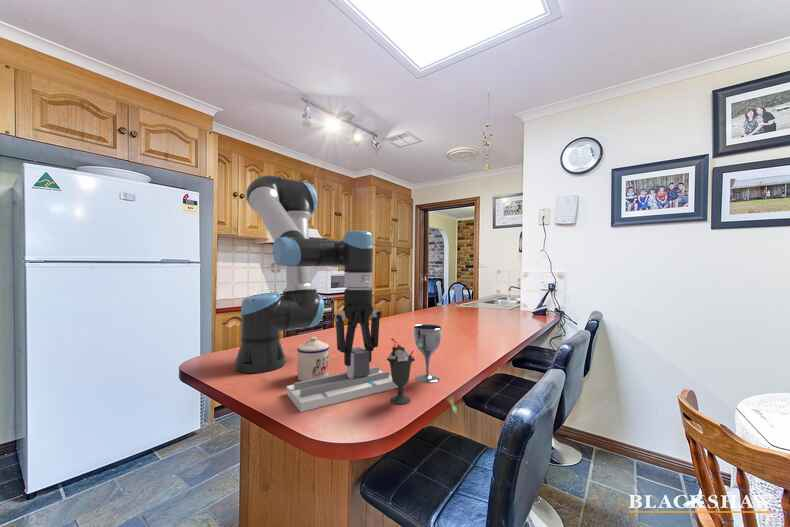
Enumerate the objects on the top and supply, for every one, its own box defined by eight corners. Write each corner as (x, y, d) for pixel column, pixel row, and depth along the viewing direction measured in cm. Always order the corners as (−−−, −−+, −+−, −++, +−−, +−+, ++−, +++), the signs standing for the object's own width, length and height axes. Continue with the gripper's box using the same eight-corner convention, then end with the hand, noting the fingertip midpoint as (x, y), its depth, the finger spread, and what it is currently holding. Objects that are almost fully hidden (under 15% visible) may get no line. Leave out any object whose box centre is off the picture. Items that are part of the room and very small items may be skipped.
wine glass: (437, 385, 86) (437, 330, 87) (410, 381, 89) (410, 328, 90) (444, 375, 94) (444, 325, 94) (418, 372, 97) (418, 323, 97)
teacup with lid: (315, 384, 87) (316, 342, 87) (290, 380, 90) (290, 339, 90) (340, 371, 98) (340, 333, 98) (316, 367, 101) (317, 331, 101)
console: (286, 393, 80) (286, 380, 80) (375, 374, 95) (375, 363, 95) (300, 412, 70) (300, 396, 70) (397, 387, 85) (397, 374, 85)
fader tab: (347, 376, 86) (347, 348, 86) (358, 374, 88) (359, 347, 88) (357, 383, 81) (357, 353, 81) (369, 380, 83) (369, 351, 83)
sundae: (381, 399, 77) (381, 337, 77) (402, 392, 81) (402, 334, 81) (397, 408, 72) (397, 342, 72) (419, 401, 76) (419, 338, 76)
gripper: (334, 290, 77) (333, 386, 77) (392, 288, 86) (391, 374, 86) (323, 288, 84) (323, 377, 83) (378, 286, 93) (378, 366, 93)
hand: (358, 375), depth 85 cm, fingers closed on fader tab, 4 cm apart
